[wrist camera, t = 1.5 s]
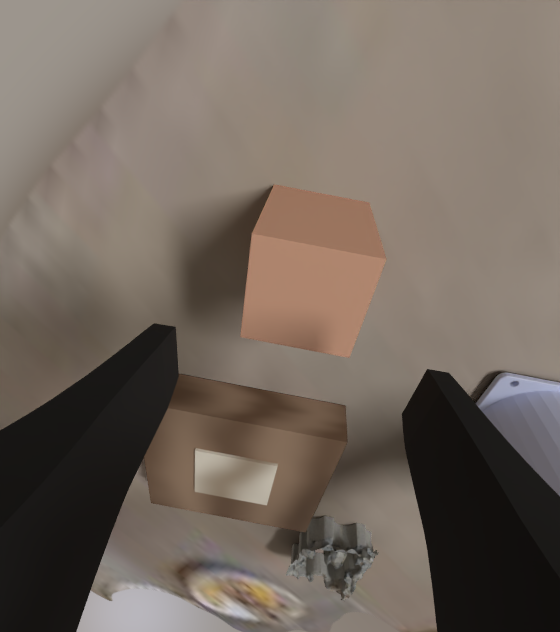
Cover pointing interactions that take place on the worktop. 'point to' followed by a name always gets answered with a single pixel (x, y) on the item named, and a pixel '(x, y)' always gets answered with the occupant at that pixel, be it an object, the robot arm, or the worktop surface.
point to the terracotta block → (311, 271)
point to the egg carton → (333, 554)
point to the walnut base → (245, 453)
